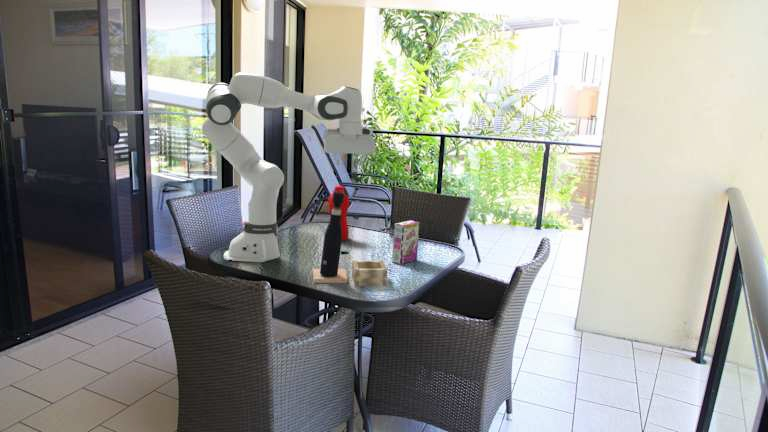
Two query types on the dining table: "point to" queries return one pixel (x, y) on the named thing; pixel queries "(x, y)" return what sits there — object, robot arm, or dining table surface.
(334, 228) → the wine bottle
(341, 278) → the terracotta tile
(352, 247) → the dining table surface
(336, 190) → the water bottle
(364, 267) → the bottle collar
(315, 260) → the dining table surface
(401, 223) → the candy bar box
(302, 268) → the dining table surface
